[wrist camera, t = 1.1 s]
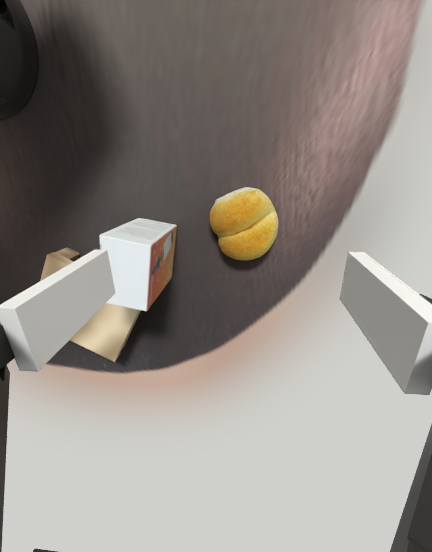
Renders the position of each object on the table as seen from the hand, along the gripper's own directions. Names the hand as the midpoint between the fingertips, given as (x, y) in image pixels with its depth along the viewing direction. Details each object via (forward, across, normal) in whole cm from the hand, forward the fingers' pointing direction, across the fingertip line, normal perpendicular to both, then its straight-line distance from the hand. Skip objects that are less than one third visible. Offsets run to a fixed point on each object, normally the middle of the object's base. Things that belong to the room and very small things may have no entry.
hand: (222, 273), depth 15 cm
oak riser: (+21, -22, -14) cm, 33 cm away
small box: (+22, -11, -5) cm, 25 cm away
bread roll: (+22, +1, -2) cm, 22 cm away
